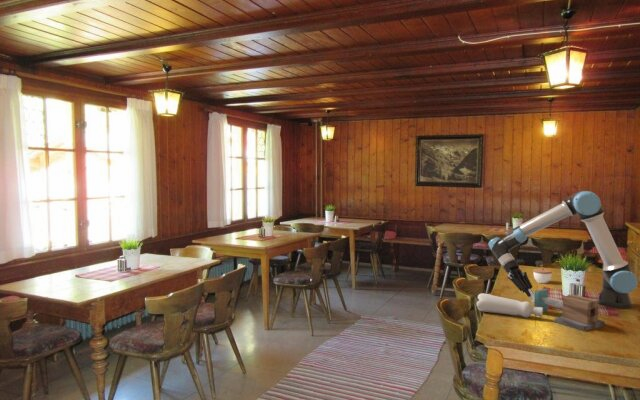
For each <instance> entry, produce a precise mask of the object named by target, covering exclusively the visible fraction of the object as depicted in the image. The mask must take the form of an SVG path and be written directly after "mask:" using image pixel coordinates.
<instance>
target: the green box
mask: <svg viewBox="0 0 640 400" xmlns="http://www.w3.org/2000/svg"><path fill="white" fill-rule="evenodd" d="M534 295H535V301H534V303H533V304H534V305H533V308H534V307H542V308H543V313H545V312H548V311H549V306H552V307H555V308H559V309H562V308H563V299H559V298H555V297H550V296H549V288H541V289H537V290H534Z"/></svg>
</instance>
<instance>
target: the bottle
mask: <svg viewBox="0 0 640 400" xmlns="http://www.w3.org/2000/svg"><path fill="white" fill-rule="evenodd" d="M477 300H478V301H476V307H477V310H479V311H480V312H483V313H484V312H485V313H490V314H501V315H509V316H521V317H522V318H525V319H527V318H530V317H531V316H532V315H534V316H537V317H540V318H543V315H544V314H543V313H544V312H543V308H542V307H534V306H532V304H531V303H530V302H529V301H527V300H526V301H520V300H517V299H512V298H507V297H502V296H497V295H493V294H490V293H484V292H482V293H479V294H478V295H477Z"/></svg>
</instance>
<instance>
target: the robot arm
mask: <svg viewBox="0 0 640 400" xmlns="http://www.w3.org/2000/svg"><path fill="white" fill-rule="evenodd" d="M601 201H602V200H601V198H600V197H599V196H598V195H597V194H596V193H594V192H593V191H589V190H588V191H587V190H579V191H576V192H575V193H573V194H572V195H570V196H568V197H567V198H565V199H563V200H562V202H561V203H560V204H558V205H556V206H554V207H552V208H550V209H548V210H546V211H544V212H542V213H541V214H538V215H537V216H535V217H533V218H531V219H529V220H527V221H525V222H523V223H522V224H519V225H518V226H516V227H514V228H511V229H509V230H508V231H507V234H506V235H505V236H504V237H503V238H500V237H499V236H496V237H494V238H492V239H490V240H489V242H488V247H489V249H490V251H491V252H492V254H493V255H494V256H495V258H496V259H497V260H498V263H499V264H500V265H501V266H502V268H503V269H504V271H505V273H507V274H508V275H507V276H506V277H507V279H509V280H510V281H511V282H512V283H513V284H514V285H515V286H516V287H517V288H516V289H518V290H519V291H520V292H522V293H525V294H526V296H527V297H528V299H529V300H530V302H532V304H534V301H535V292H534V291H533V290H532V288H533V285H532V283H531V281H530V279H529V277H528V274H527V272H526V271H523V270H521V269H520V264H519V263H518V262H517V260H515V257H514V256H513V255H512V254H511V252H510V251H511V250H513V249H514V248H516V247H517V246H519V245H520V244H523V243H524V242H526V241H527V239H528V237H529V236H532V235H534V234H536V233H537V232H539V231H541V230H543V229H546V228H547V227H549V226H552V225H553V224H555V223H557V222H559V221H562V220H563V219H565V218H567V217H569V216H571V217H573V216H575V215H577V217H578V219H579V221H581V222H583V223H584V224H585V226H586V228H587V231H588V233H589V234H590V237H591V239H592V242H593V243H594V245H595V248H596V249H597V252H598V254H599V256H600V259H601V261H602V263H603V264H602V289H601V292H600V293H599V295H598V298H597V300H598V305H601V306H605V307H608V308H615V309H630V308H632V300H631V296H630V294H629V293H631V292H633V291H634V290H635V289H636V288H637V286H638V283H639V281H638V277H637V276H636V274H634V273H633V270H632V268H631V266H630V263H629V262H628V261H626V260H624V259H623V257H622V255H621V253H620V251H619V248H618V246H617V244H616V242H615V240H614V238H613V236H612V233H611V232H610V229H609V227H608V225H607V223H606V221H605V218H604V214H605V211H604V208H603V206H602V202H601Z"/></svg>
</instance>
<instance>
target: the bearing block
mask: <svg viewBox="0 0 640 400" xmlns="http://www.w3.org/2000/svg"><path fill="white" fill-rule="evenodd" d="M562 301H563V308H561V309H562V311H561V316H557V317H555V318H554V323H556V324H559V325H563V326H565V327H569V328H572V329H575V330H579V331H582V332H586V331H590V330H593V329H596V328H601V327H604V326H605V320H601V319H598V318H599V317H598V316H599V312H598V311H599V303H598V299H593V298H590V297H584V296H581V295H576V294H570V295H564V296H562Z"/></svg>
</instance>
